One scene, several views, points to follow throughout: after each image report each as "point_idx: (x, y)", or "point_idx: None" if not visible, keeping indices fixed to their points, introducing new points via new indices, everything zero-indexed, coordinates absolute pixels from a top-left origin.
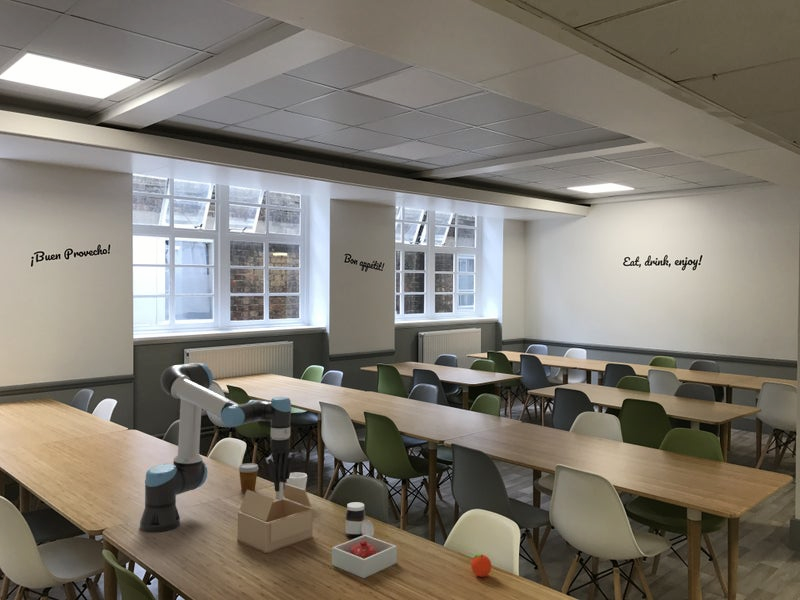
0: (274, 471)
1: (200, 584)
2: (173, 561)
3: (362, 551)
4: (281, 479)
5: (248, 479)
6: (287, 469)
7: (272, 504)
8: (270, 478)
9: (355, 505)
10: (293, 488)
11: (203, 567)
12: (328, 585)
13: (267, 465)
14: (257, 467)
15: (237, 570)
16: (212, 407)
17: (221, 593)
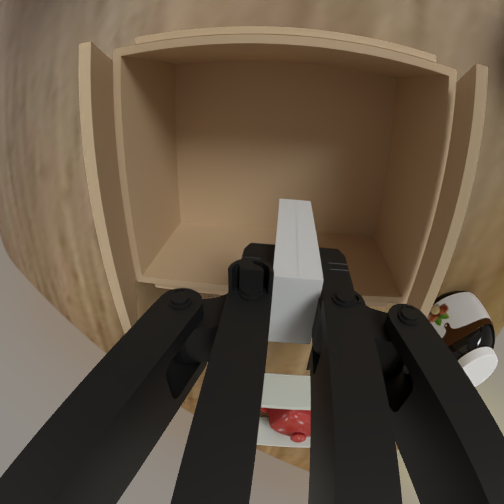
0: (138, 457)
1: (18, 241)
2: (5, 100)
3: (281, 433)
4: (317, 337)
5: None
6: (408, 446)
7: (367, 56)
8: (147, 326)
9: (469, 377)
10: (434, 264)
11: (32, 176)
12: (192, 397)
13: (11, 468)
14: None
15: (79, 247)
16: None
17: (41, 293)
